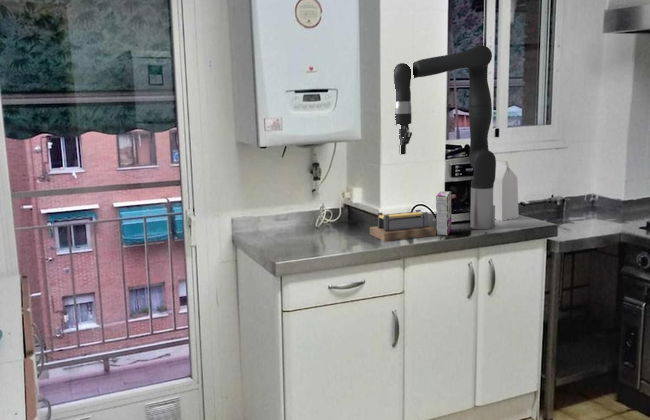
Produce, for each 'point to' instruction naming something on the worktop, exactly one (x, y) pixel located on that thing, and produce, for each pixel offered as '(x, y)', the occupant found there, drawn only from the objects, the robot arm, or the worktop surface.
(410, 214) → the strip
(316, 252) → the worktop surface
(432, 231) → the walnut board
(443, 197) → the candy bar box
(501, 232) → the worktop surface
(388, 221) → the block
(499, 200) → the milk
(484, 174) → the robot arm
